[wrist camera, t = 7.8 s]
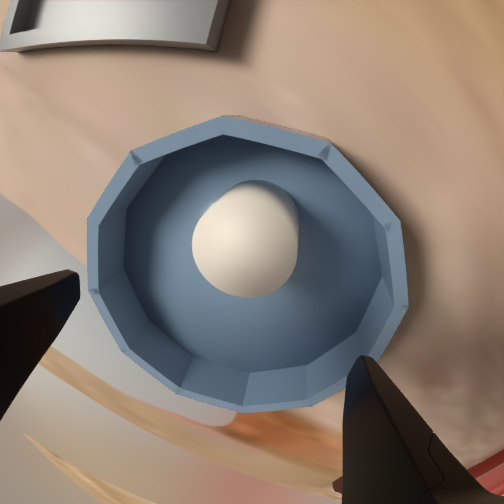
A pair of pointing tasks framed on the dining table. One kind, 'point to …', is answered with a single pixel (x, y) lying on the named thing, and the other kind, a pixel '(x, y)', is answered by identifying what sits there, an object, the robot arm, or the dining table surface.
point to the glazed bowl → (239, 308)
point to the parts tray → (113, 23)
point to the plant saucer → (490, 473)
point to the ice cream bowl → (338, 485)
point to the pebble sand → (248, 239)
